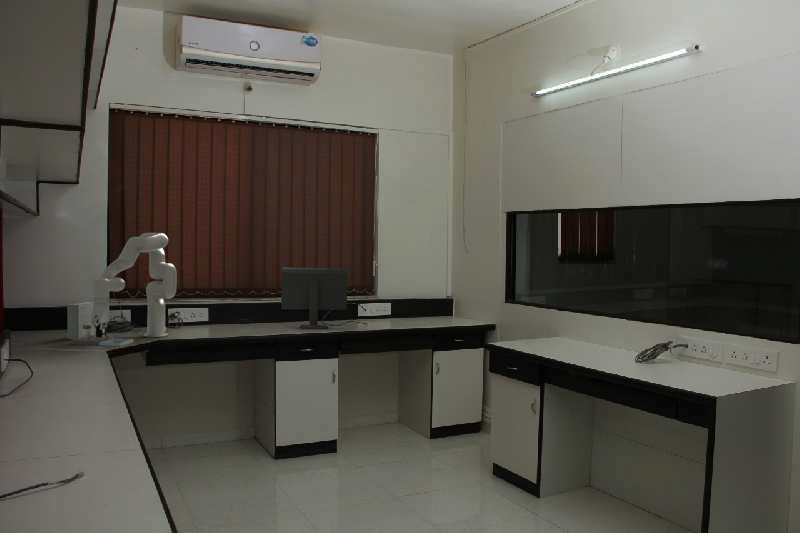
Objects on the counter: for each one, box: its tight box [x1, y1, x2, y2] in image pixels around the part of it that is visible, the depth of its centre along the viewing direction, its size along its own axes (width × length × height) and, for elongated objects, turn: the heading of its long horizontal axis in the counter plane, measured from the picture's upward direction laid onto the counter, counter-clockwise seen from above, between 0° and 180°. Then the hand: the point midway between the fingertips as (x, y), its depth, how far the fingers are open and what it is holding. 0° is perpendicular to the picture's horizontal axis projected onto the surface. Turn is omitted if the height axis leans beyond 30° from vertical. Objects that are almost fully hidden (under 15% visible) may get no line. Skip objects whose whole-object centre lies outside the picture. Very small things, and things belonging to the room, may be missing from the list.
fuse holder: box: [70, 334, 116, 346], centre depth 326 cm, size 16×15×4 cm
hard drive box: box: [67, 301, 100, 340], centre depth 341 cm, size 16×8×20 cm, turn 160°
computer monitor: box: [280, 266, 349, 330], centre depth 417 cm, size 44×16×40 cm, turn 94°
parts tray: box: [98, 338, 134, 347], centre depth 323 cm, size 14×11×2 cm
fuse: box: [83, 325, 91, 339], centre depth 326 cm, size 4×4×9 cm
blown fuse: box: [98, 324, 105, 340], centre depth 326 cm, size 4×4×9 cm
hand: (101, 336), depth 326 cm, fingers closed on blown fuse, 3 cm apart
